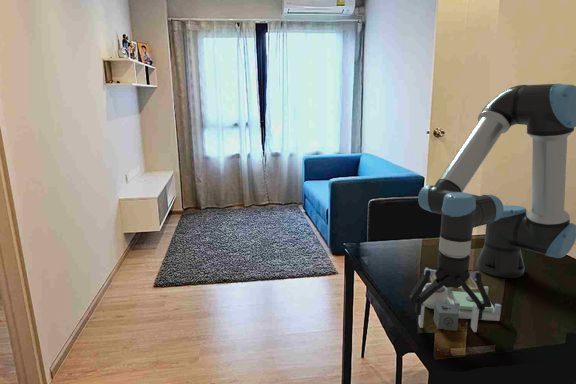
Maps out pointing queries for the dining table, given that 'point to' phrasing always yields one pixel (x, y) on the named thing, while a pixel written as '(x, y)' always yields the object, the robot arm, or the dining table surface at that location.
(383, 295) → the dining table surface
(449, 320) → the dice cube
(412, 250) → the dining table surface
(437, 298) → the cup
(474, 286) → the trough
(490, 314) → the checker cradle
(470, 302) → the plate
